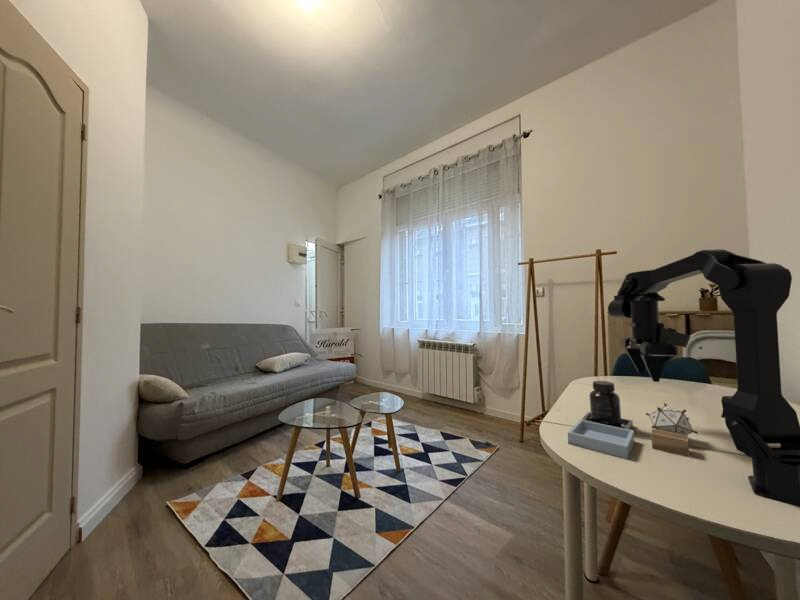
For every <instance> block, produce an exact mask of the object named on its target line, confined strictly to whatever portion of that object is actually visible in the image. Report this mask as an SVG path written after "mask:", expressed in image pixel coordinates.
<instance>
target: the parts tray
mask: <svg viewBox="0 0 800 600" xmlns="http://www.w3.org/2000/svg"><path fill="white" fill-rule="evenodd" d="M635 440H636V439H635V430H633V429H631V430H628V429H626V428H619V427H614V426H609V425H604V424H600V423H595V422H591V420H588V421H585V420H581V419H579V420H578V421H577V422H576V423H575V424H574V425H573V426H572V428H570V429H569V430H568V431H567V444H568V445H573V446H576V447H580V448H584V449H587V450H591V451H595V452H599V453H602V454H606V455H610V456H614V457H617V458H622V459H625V460H628V459H629V457H630V456H631V452H632V450H633V447H634V445H635Z"/></svg>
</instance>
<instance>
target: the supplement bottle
mask: <svg viewBox="0 0 800 600" xmlns="http://www.w3.org/2000/svg"><path fill="white" fill-rule="evenodd" d="M592 389H593V390H592V391H591V392H590V393H589V406H590V407H589V409H590V412H591V418H590V419H591V420H590V422H595V423H600V424H604V425H609V426H614V427H619V428H622V427H623V425H622V423H621V418H622V414H621V413H622V411H621V399H620V398H621V397H620V396H619V395H618V394H617V392H615V390H616V388H615V384H614V382H611V381H606V380H595V381H592Z"/></svg>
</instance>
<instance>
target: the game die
mask: <svg viewBox="0 0 800 600" xmlns="http://www.w3.org/2000/svg"><path fill="white" fill-rule="evenodd" d="M656 407H657V408H656V409H657V410H655V411H653V412H651V413H650V414H649V413H648V412H646V413H645V415H646V416H649V420H650V421H651V423H652V425H651V429H657V430H662V431H668V432H673V433H678V434H683V435H688V436H689V435H690V434H693V433H694V434H696V435H697V434H699V432H698V431H696V430H694V429H693V427H692V425H691V423H690V421H689V420H690V418H689V417H687V416H686V414H685V413H686V412H687V409H683V410H682V411H681V410H679V409H676V408H673V407H669V406H668V404H667V403H665V402H664V403H663V407H660V406H656Z"/></svg>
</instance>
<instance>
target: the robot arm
mask: <svg viewBox="0 0 800 600" xmlns="http://www.w3.org/2000/svg"><path fill="white" fill-rule="evenodd" d="M697 275H703V278H704V279H706V280H708V282H711V283H712V284H714V285H716V286H718V291H719V296H720V298H721V300H722V301H723V303H725V305H726V306H727V307H728V309H729V310H730V311H731V312H732V314H733V327H734V345H735V359H736V361H735V362H736V363H735V365H736V379H737V390H736V391H735V393H734V394H733V395H723V396H722V398H721V406H722V413H721V416H720V417H721V418H722V419H724V423H725V426H726V428H727V430H728V432H729V433H730V437H731V439H732V441H733V444H734V446H735V449H736V451H738V452H741V453H742V454H744V455H745V456H746V457H748V458H751V462H752V463H751V464H752V465H751V467H752V475H748V476H747V479H748V481H749V485H750V487H751V490H752V492H753V493H754V494H756V495H760V496H763V497H765V498H766V497H767V498H770V499H774V500H779V501H782V502H786V503H788V504H789V503H790V504H794V505H796V506H797V505H798V506H800V422H799V421H800V420H799V419H798V418H799V417H798V415H797V412H796V410H795V409H794V408H793V407H792V405H791V404H790V403H789V402H788V401H787V399H786V398H785V397H784V396H783V392H782V382H781V381H782V380H781V379H782V378H781V366H780V365H781V364H780V346H779V345H780V344H779V330H778V316H777V315H778V312H779V310H780V309H781V308H782V306H783V305H784V304H785V302H786V301H787V300H788V298H789V297H790V292H791V287H792V286H791V285H792V279H793V276H792V273H791V271H790V269H789V268H786V267H784V266H783V265H781V264H777V263H774V262H773V263H772V262H770V263H769V262H768V263H767V262H764V261H762V260H759V259H755V258H752V257H746V256H743V255H739V254H736V253H734V252H731V251H728V250H725V249H722V248H721V249H701V250H699V251H696V252H695V253H692V254H691V255H689V256H686V257H682V258H681V259H677V260H675V261H672V262H671V263H668V264H666V265H663V266H660V267H656V268H654V269H650V270H641V271H633V272H630V273H627V274H626V275H625V278H624V279H623V282H622V284H621V286H620V288H619V289H618V291H617V295H614V296H613V300H611V301H610V302H609V303H608V305H607V311H608V314H609V315H610V316H611V317H613V318H616V319H630V320H631V321H628V326H629V327H631V336H624V337H623V338H621V347H623V350H625V352H626V353H627V356H628V357H629V358H630V361H631V362H632V363H633V366H634V367H635V369H636V371H637V373H638V374H639V375H645V372H646V371H647V372H648V374H649V376H650V378H651V380H652V382H655V383H659V382H660V380H661V376H662V373H663V370H664V369H665V368H664V367H665V365H666V363H667V362H669V361H670V360H671V359H674V358H675V357H676V356H679V348H678V347H682V348H687V346H688V344H689V342H690V339H691V337H692V336H691V335H689V334H685V333H681V332H678V331H677V329H675V328H673V327H672V328H671V327H669V326H666V327H665V324H664V323H663V322H660V315H659V302H664V301H665V299H666V298H665V297H663V296H662V295H660V294H659V292H661V291H662V290H665V289H666V288H667V287H668V285H670V284H672V283H675V282H678V281H681V280H685V279H688V278H691V277H696V276H697ZM769 444H770V446H769ZM771 444H772V445H771ZM774 444H775V445H774ZM776 444H777V445H776ZM778 444H779V445H780V446H779V445H778Z"/></svg>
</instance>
